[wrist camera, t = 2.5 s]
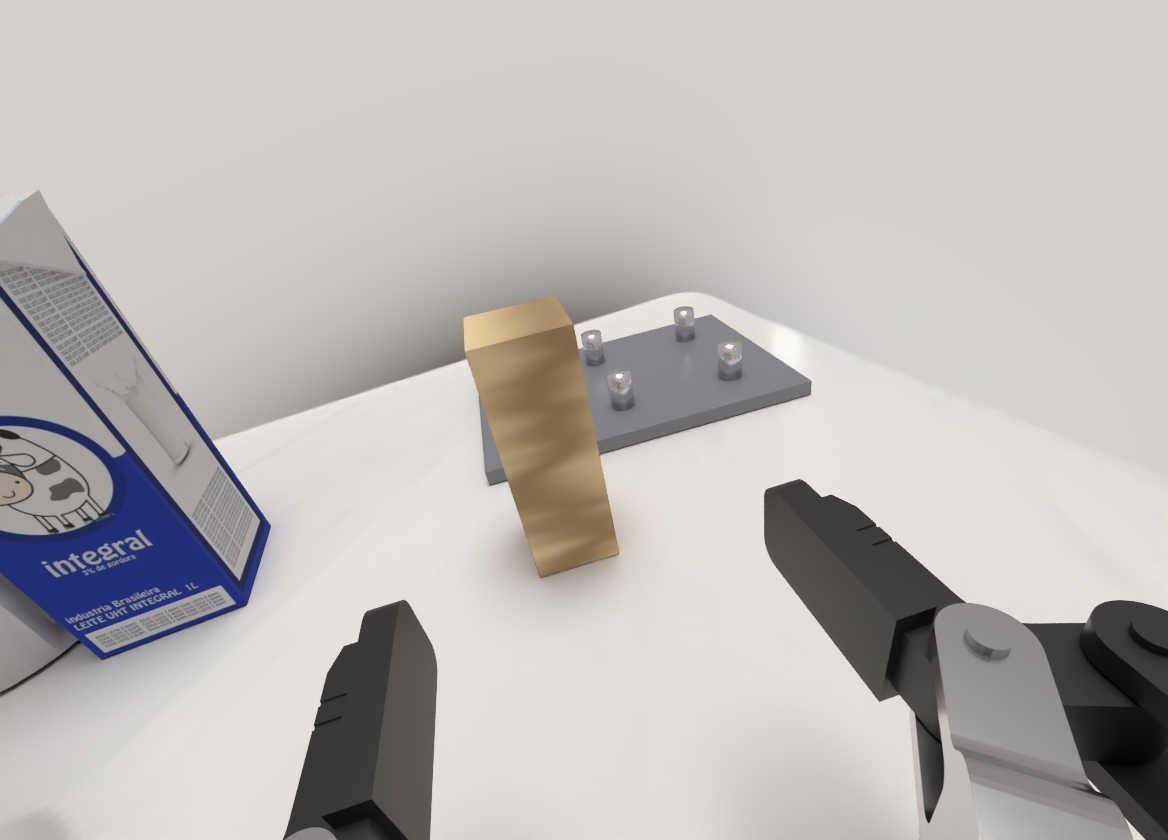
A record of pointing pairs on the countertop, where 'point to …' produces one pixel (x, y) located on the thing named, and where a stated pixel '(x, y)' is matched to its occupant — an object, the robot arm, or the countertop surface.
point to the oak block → (543, 430)
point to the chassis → (670, 382)
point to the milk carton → (105, 459)
